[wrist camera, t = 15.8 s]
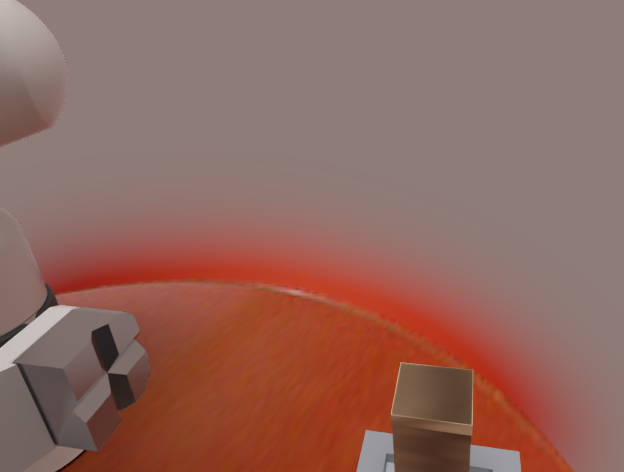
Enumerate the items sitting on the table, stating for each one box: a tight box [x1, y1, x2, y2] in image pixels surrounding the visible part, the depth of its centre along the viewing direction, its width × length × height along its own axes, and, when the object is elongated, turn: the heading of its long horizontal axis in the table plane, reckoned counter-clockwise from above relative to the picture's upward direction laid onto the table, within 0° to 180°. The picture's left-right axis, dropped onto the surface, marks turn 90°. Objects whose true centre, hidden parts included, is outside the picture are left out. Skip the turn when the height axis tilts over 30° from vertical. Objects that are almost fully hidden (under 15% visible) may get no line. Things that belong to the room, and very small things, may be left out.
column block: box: [391, 363, 473, 472], centre depth 35 cm, size 5×5×12 cm
